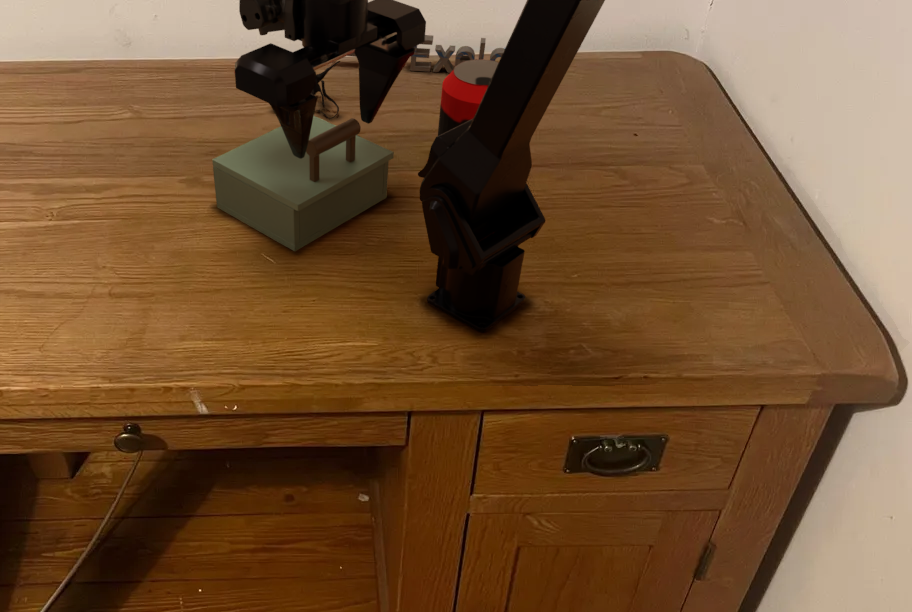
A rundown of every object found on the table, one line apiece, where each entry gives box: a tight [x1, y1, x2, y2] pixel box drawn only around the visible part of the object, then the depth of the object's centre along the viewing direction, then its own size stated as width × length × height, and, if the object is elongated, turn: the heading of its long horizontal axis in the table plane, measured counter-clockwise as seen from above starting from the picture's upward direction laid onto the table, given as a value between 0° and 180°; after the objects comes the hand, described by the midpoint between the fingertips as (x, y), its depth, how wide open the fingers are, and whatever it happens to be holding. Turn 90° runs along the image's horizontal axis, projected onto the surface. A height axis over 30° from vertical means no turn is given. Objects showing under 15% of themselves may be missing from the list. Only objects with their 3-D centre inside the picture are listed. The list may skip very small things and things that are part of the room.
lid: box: [211, 115, 395, 211], centre depth 89 cm, size 12×13×5 cm
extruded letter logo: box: [347, 34, 505, 74], centre depth 114 cm, size 25×2×6 cm, turn 81°
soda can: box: [437, 59, 499, 136], centre depth 92 cm, size 8×8×12 cm
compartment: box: [212, 160, 390, 252], centre depth 92 cm, size 11×13×5 cm
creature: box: [311, 60, 341, 119], centre depth 107 cm, size 8×5×8 cm
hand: (333, 138), depth 86 cm, fingers open, 9 cm apart
